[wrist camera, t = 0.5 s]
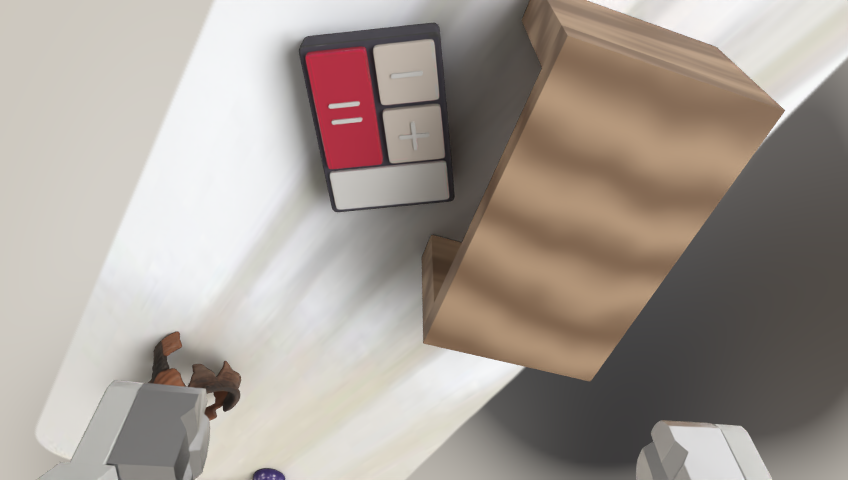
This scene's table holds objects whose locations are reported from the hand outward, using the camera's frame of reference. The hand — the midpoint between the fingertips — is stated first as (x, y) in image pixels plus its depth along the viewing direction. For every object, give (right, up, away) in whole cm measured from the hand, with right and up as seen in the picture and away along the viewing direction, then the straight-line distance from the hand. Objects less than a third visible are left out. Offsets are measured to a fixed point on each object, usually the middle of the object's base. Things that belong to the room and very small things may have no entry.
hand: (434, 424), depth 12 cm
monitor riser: (+12, +10, +47) cm, 50 cm away
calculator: (-4, +14, +44) cm, 47 cm away
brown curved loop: (-27, -11, +62) cm, 69 cm away
